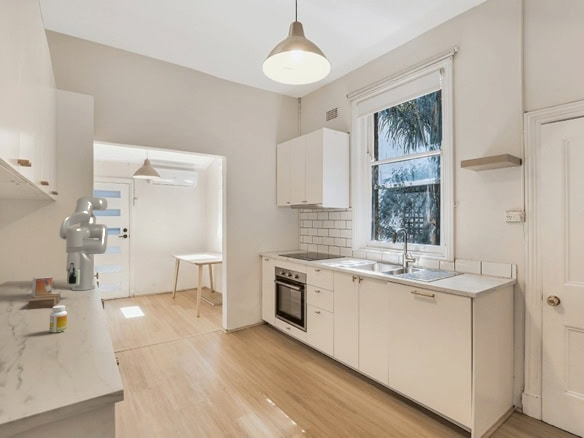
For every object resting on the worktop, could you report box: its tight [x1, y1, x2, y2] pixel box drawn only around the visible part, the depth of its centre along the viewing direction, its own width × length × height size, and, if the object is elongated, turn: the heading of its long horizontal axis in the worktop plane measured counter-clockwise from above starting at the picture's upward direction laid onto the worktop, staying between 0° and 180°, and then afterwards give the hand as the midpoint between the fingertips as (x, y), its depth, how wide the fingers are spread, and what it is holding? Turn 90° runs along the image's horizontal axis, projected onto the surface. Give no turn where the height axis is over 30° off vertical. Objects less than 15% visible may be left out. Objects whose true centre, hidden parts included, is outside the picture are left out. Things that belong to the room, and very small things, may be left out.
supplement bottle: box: [48, 304, 68, 333], centre depth 124 cm, size 5×5×10 cm
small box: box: [31, 275, 53, 298], centre depth 181 cm, size 8×6×10 cm
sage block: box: [66, 270, 80, 287], centre depth 176 cm, size 5×5×8 cm
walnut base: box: [27, 293, 61, 310], centre depth 162 cm, size 14×10×4 cm
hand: (73, 282), depth 176 cm, fingers closed on sage block, 5 cm apart
